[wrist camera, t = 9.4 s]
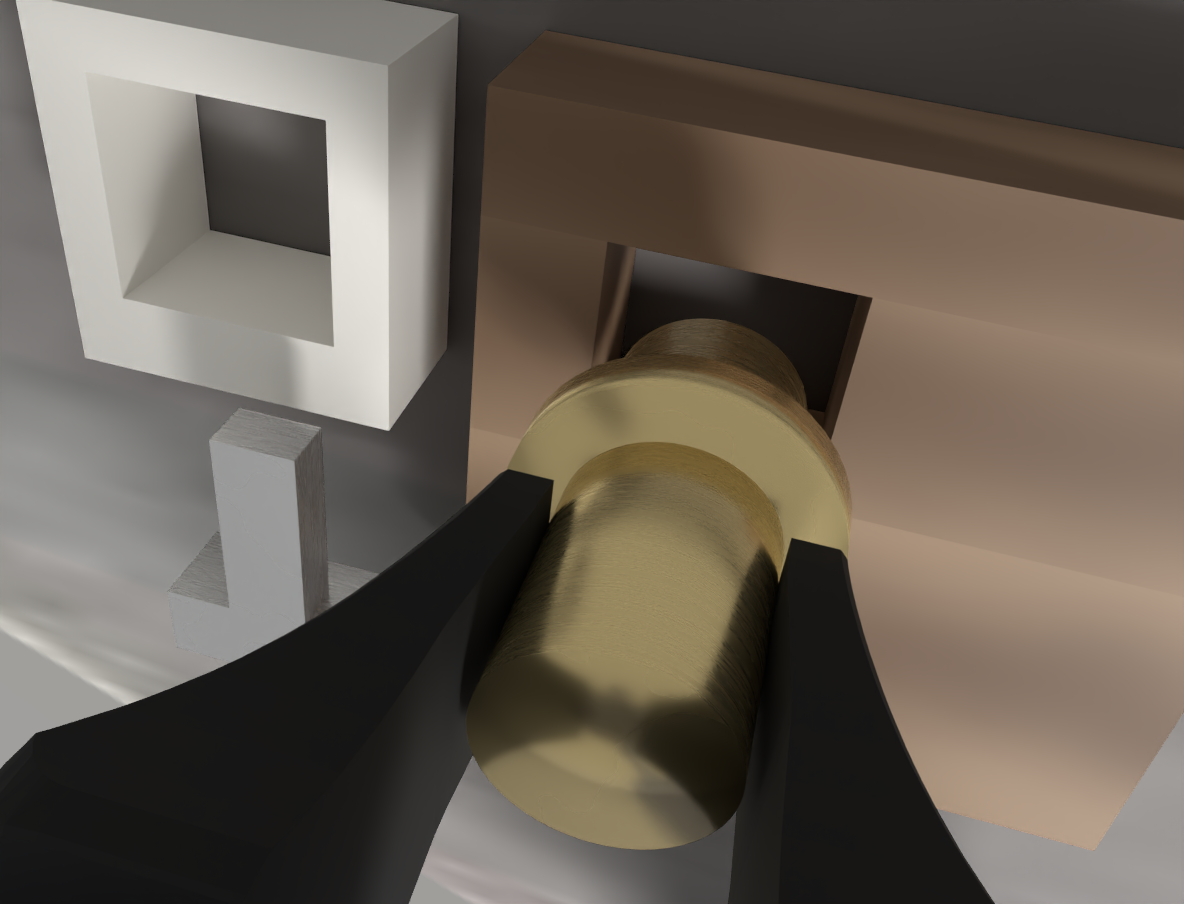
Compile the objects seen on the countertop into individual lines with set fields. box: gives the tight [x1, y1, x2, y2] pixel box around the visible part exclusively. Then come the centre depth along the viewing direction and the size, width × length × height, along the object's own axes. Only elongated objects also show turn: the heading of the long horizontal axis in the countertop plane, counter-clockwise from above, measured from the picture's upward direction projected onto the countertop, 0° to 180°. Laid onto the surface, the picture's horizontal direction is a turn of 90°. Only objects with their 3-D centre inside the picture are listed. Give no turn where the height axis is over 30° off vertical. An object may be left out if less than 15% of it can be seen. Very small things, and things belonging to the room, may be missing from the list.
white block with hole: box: [16, 0, 458, 431], centre depth 19 cm, size 6×6×3 cm
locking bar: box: [167, 408, 379, 662], centre depth 20 cm, size 5×11×2 cm, turn 84°
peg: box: [466, 318, 852, 850], centre depth 14 cm, size 5×5×7 cm
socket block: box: [466, 30, 1184, 851], centre depth 20 cm, size 12×13×3 cm
